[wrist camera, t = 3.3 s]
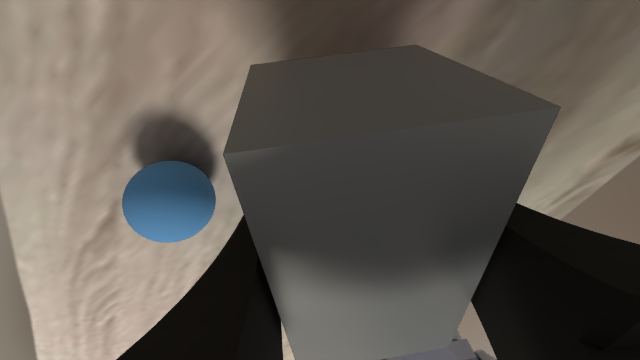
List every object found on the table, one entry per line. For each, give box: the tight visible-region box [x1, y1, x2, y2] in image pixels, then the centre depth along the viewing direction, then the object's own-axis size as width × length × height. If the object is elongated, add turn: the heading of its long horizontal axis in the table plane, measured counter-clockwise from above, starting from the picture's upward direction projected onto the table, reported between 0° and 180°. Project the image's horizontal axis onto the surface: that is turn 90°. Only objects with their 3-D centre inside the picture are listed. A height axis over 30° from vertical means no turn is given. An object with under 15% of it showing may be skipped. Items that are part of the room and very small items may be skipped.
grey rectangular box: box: [223, 45, 561, 360], centre depth 10 cm, size 10×6×6 cm, turn 5°
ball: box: [122, 161, 216, 242], centre depth 17 cm, size 5×5×5 cm
